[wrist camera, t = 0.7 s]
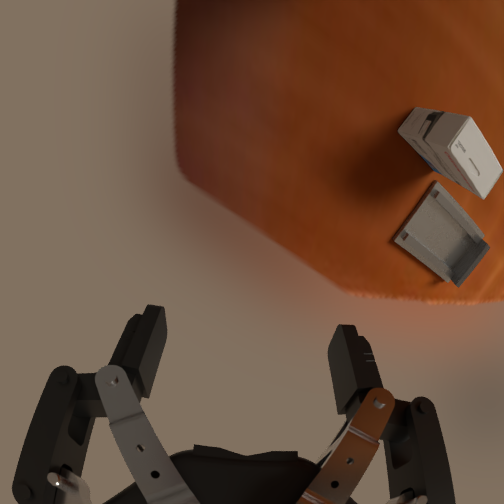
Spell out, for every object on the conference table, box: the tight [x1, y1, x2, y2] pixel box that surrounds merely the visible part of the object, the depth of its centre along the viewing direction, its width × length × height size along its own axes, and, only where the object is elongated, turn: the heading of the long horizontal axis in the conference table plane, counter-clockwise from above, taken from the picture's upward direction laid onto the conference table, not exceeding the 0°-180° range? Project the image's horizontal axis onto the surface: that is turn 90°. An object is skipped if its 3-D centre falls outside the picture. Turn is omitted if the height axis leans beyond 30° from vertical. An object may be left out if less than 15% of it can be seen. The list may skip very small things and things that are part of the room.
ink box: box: [398, 107, 503, 199], centre depth 26 cm, size 8×5×12 cm, turn 57°
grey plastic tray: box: [392, 180, 490, 288], centre depth 36 cm, size 11×16×4 cm
